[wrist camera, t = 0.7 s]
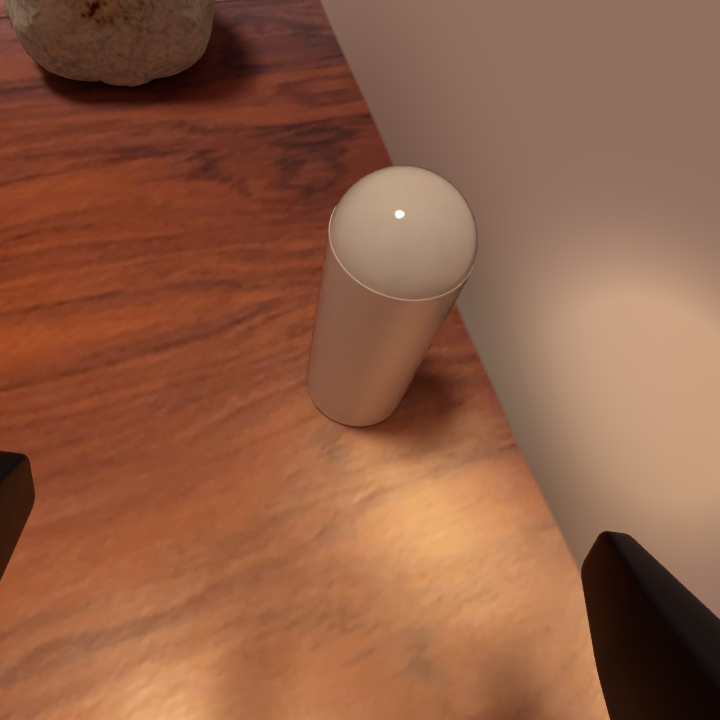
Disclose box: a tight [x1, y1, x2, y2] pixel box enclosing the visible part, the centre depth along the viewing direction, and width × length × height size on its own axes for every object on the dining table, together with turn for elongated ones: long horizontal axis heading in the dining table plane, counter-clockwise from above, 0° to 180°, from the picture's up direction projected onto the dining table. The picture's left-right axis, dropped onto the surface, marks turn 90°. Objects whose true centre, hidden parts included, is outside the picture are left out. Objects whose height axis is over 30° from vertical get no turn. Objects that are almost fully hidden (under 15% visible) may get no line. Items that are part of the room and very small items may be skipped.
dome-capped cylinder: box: [306, 165, 478, 426], centre depth 22 cm, size 5×5×13 cm
